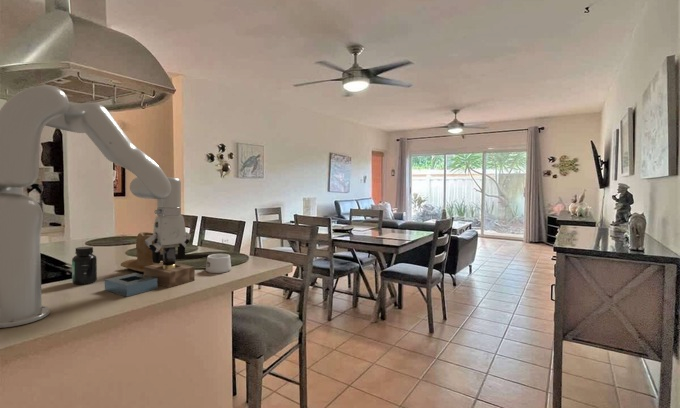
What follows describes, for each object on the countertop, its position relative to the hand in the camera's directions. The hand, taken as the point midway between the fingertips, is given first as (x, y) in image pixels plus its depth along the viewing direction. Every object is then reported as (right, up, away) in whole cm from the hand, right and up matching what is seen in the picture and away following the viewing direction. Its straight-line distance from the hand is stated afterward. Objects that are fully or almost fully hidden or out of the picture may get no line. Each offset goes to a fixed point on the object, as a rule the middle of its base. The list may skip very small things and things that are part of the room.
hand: (169, 260), depth 125 cm
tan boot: (-16, -6, +14) cm, 22 cm away
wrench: (-10, -6, +30) cm, 32 cm away
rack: (0, -7, 0) cm, 7 cm away
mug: (+11, -7, +17) cm, 22 cm away
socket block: (-7, -8, -11) cm, 15 cm away
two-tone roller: (0, -7, 0) cm, 7 cm away
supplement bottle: (-27, -7, -5) cm, 28 cm away
